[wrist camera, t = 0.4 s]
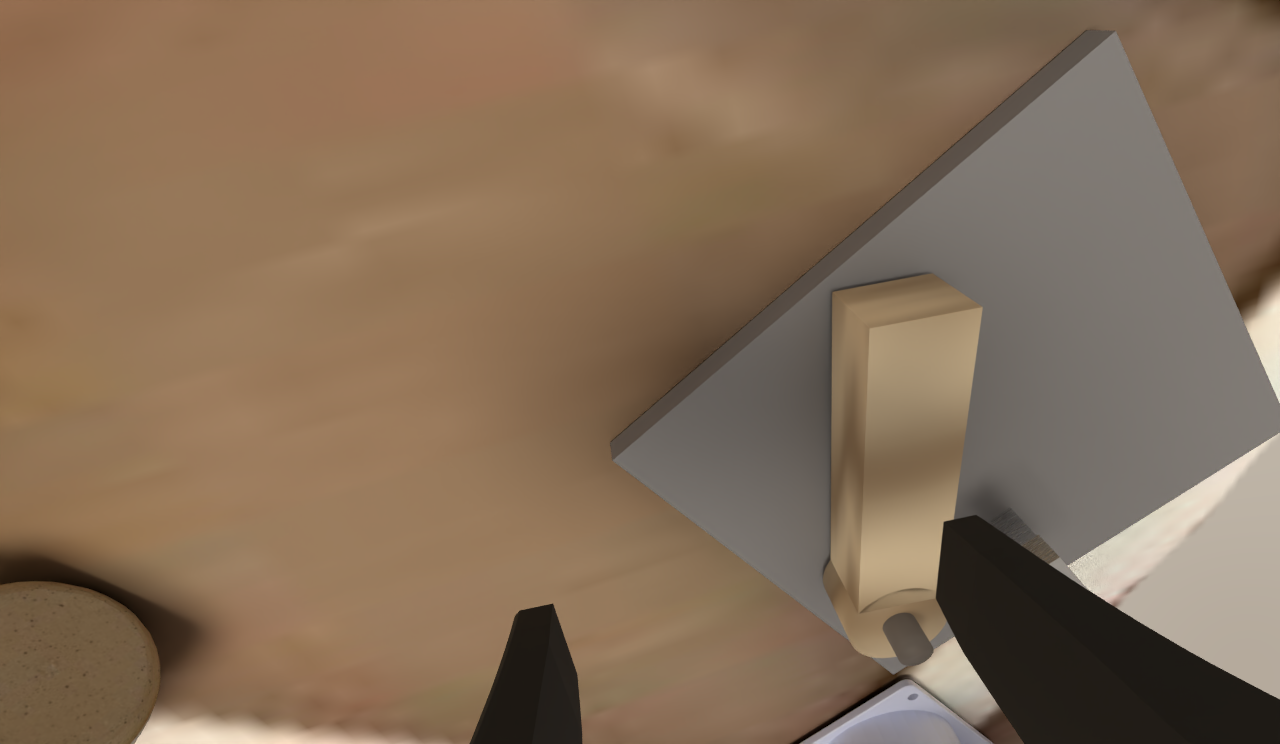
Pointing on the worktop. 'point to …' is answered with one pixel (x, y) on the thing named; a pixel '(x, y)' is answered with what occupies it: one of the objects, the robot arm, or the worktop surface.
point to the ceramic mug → (73, 667)
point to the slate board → (993, 342)
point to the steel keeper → (1031, 541)
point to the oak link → (896, 456)
